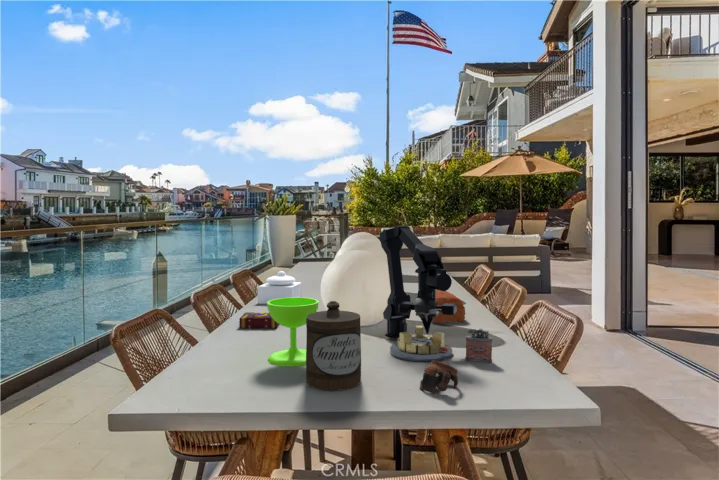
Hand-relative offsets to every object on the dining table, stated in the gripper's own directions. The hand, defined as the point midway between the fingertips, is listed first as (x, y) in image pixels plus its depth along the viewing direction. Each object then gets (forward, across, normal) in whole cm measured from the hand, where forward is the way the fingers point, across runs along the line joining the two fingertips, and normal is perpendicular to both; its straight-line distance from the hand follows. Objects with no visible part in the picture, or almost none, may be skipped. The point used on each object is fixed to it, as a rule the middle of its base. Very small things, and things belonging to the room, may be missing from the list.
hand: (427, 333), depth 173 cm
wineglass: (+4, -36, -27) cm, 45 cm away
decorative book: (+4, -72, +10) cm, 73 cm away
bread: (+6, -7, +54) cm, 54 cm away
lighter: (+6, +18, -9) cm, 21 cm away
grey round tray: (+5, -1, -6) cm, 8 cm away
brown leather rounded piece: (+5, +12, -38) cm, 40 cm away
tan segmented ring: (+3, 0, -6) cm, 7 cm away
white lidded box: (+4, -92, +62) cm, 111 cm away
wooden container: (+5, -16, -42) cm, 45 cm away
